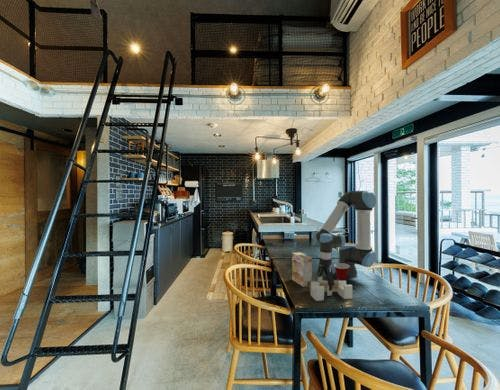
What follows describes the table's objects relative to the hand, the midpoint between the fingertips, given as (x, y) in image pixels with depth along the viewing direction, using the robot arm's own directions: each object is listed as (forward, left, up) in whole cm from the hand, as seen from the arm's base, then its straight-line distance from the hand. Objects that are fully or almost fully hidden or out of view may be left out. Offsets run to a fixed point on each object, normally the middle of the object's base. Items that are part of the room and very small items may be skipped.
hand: (324, 290), depth 159 cm
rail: (0, 0, 0) cm, 0 cm away
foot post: (+8, +9, 0) cm, 12 cm away
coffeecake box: (-16, -10, 0) cm, 18 cm away
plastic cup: (-14, +19, 0) cm, 23 cm away
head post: (+8, -9, 0) cm, 12 cm away
